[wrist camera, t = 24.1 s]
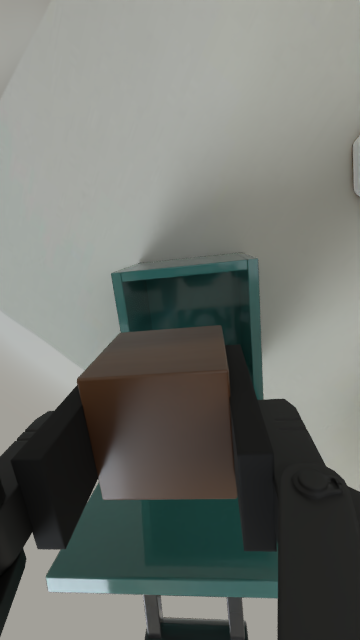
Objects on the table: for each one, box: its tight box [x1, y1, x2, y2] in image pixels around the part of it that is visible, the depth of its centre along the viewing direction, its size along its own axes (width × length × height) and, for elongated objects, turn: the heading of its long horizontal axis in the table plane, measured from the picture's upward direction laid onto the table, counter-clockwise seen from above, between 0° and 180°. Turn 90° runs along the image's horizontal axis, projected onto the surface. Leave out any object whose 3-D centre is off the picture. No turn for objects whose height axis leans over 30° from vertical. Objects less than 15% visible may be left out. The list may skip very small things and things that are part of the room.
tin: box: [111, 252, 263, 400], centre depth 29 cm, size 14×12×10 cm
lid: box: [46, 483, 278, 640], centre depth 19 cm, size 14×12×8 cm
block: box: [77, 325, 238, 500], centre depth 11 cm, size 4×4×4 cm
